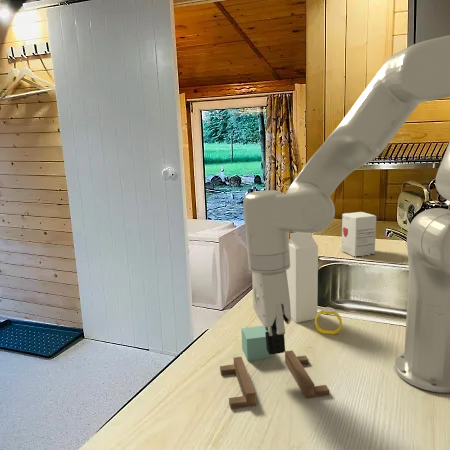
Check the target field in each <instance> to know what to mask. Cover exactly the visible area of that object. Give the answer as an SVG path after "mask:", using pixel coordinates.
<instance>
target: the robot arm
mask: <svg viewBox="0 0 450 450" xmlns="http://www.w3.org/2000/svg"><path fill="white" fill-rule="evenodd" d="M381 65H382V66H380V68H379V69H378V70H377V72H376V73H375V75H374V76H373V78H371V80H370V81H369V83H368V84H367V85H366V87H365V89H364V90H363V91H362V93H361V94H360V95H359V97H358V98H357V100H356V101H355V102H354V104H353V105H352V107H351V108H350V109H349V110H348V111H347V113H346V114H345V116H344V117H343V119H342V120H341V121H340V123H338V125H337V127H336V128H335V129H334V130H333V131H332V132H331V133H330V134H329V136H328V137H327V138H326V139H325V141H324V142H323V143H322V145H320V147H319V148H318V149H317V150H316V151H315V153H314V154H313V155H312V156H311V157H310V159H309V160H308V161H307V162H306V164H305V165H304V166H303V168H302V169H301V171H299V173H298V174H297V176H296V177H295V178H294V180H293V181H292V183H291V184H290V185H289V188H288V189H287V191H286V192H285V193H283V192H282V191H280V190H274V189H273V190H270V189H269V190H268V189H267V190H257V191H252V192H249V193H247V194H246V195H245V196H244V197H243V201H242V202H243V203H242V204H243V216H244V227H245V228H244V229H245V238H246V239H245V240H246V250H247V263H248V270H249V271H250V272H251V275H252V278H251V281H252V282H251V283H252V303H253V306H252V307H253V309H254V311H255V314H256V316H257V318H258V319H259V320H260V322H261V324H262V326H265V330H266V331H268V332H265V335H266V347H267V351H268V353H269V354H270V355H271V356H272V355H278V354H282V353H283V354H285V351H286V342H285V341H286V340H285V335H286V327H285V324H287V325H289V324H290V323H291V321H292V319H291V308H290V297H289V288H288V280H287V273H286V270H287V269H289V268H290V252H289V240H290V237H289V233H296V232H302V233H312V234H314V233H318V232H321V231H324V230H325V229H327V228H328V227H329V226H331V224H332V222H333V220H334V219H335V213H336V209H335V208H336V207H335V204H334V202H333V199H332V198H331V196H332V194H333V193H334V192H335V190H336V189H337V188H338V186H339V185H340V184H341V183H343V181H344V180H345V179H346V178H347V177H348V176H349V175H350V174H351V173H352V172H354V171H355V170H357V169H358V168H361V167H362V166H364V165H366V164H369V163H370V162H371V161H373V160H375V159H376V158H377V157H378V156H380V155H381V154H382V153H383V151H384V150H385V149H386V147H387V146H388V145H389V144H390V142H392V140H393V138H394V137H395V135H396V134H397V133H398V132H399V131H400V130H401V128H402V126H403V125H404V124H405V123H406V121H407V120H408V118H409V117H410V116H411V115H412V114H413V112H414V111H415V110H416V108H417V107H418V106H419V104H421V103H425V102H431V101H435V100H436V101H437V100H441V99H446V98H450V34H449V35H444V36H441V37H435V38H431V39H428V40H423V41H420V42H417V43H414V44H412V45H410V46H407V47H406V48H404V49H402V50H400V51H398V52H396V53H394V54H393V55H391V56H390V57H389V58H387V59H386V60H385V62H384V63H383V64H381ZM434 182H435V189H436V191H437V192H438V193H439V195H440V196H441V197H442V198H443V199H445V200H446V201H449V202H450V141H449V142H448V145H447V147H446V151H445V152H444V155H443V158H442V159H441V163H440V165H439V167H438V170H437V173H436V176H435V181H434ZM406 249H407V258H408V259H407V260H408V286H407V287H408V289H407V304H406V319H405V320H406V321H405V336H404V352H403V353H402V354H400V355H399V356H397V358H396V359H395V361H394V369H395V372H396V373H397V375H398V376H399V377H400V378H401V379H402V380H403V381H404V382H406V383H407V384H409V385H411V386H414V387H416V388H419V389H422V390H425V391H429V392H434V393H441V394H445V393H446V394H447V393H449V394H450V209H446V208H444V207H443V208H442V207H437V208H435V207H433V208H428V209H426V210H423V211H421V212H420V213H418V214H416V216H414V218H413V219H412V221H411V222H410V224H409V226H408V229H407V233H406Z"/></svg>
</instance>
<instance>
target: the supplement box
mask: <svg viewBox="0 0 450 450" xmlns="http://www.w3.org/2000/svg"><path fill="white" fill-rule="evenodd" d="M341 216H342V218H341V219H342V222H341V223H342V224H341V252H342V251H344V252H346V253H349V254H351V255H353V256H355V257H354V258H357V257H356V256H362V257H364V256H363V255H368V256H371V255H370V254H375V253H376V252H375V250H376V231H377V230H376V229H377V215H375V214H371V213H369V212H368V213H367V212H363V211H357V212H344V213H342V215H341ZM344 252H343V253H344ZM346 253H345V254H346ZM351 255H350V256H351ZM375 255H376V254H375ZM353 256H352V257H353Z"/></svg>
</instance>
